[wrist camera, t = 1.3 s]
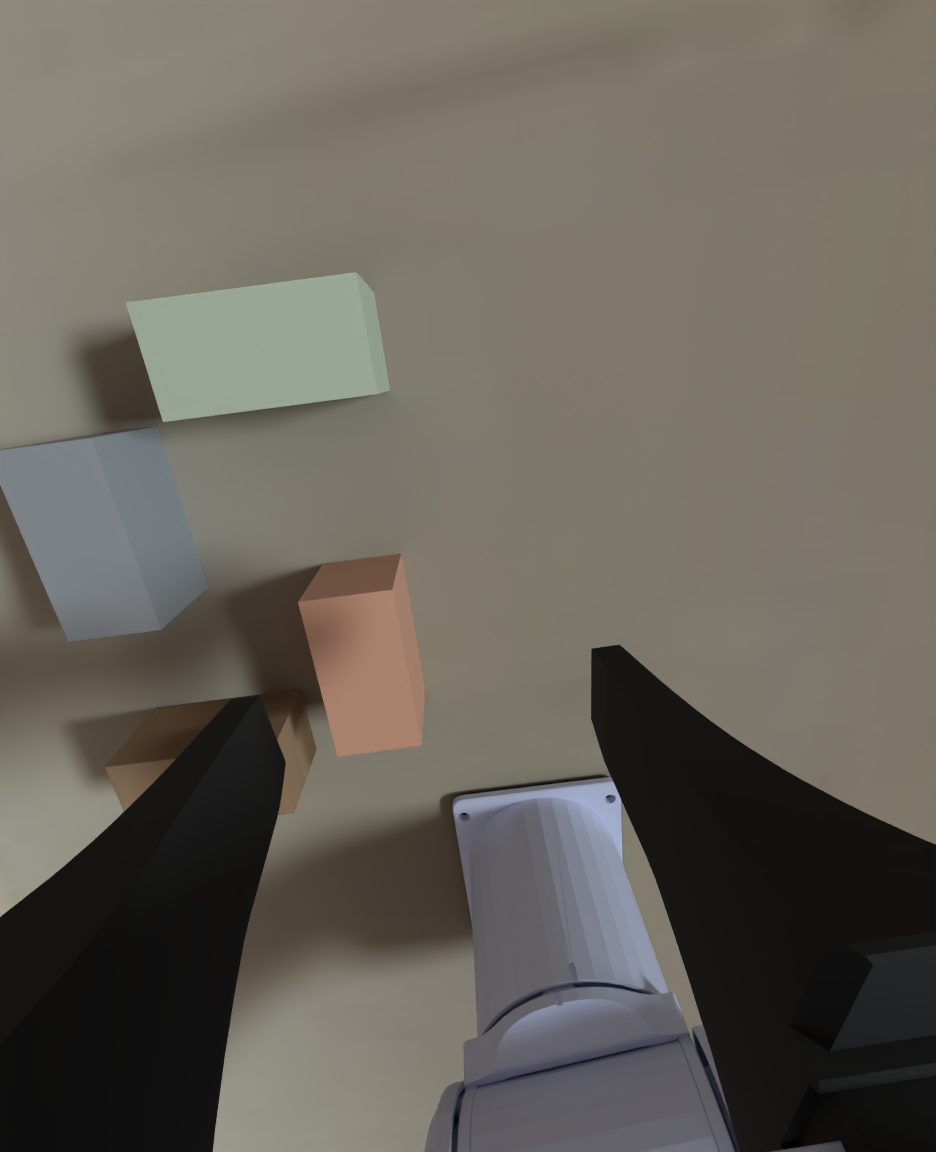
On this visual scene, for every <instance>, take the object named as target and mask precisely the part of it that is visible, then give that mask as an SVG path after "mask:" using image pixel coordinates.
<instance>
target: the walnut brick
mask: <svg viewBox="0 0 936 1152" xmlns="http://www.w3.org/2000/svg"><path fill="white" fill-rule="evenodd" d="M254 696H258V695H254ZM246 697H251V696H246ZM238 698H244V697H238ZM260 698H261V700H262V703H263V705H264V708H265V710H266V713H267V715H268V718H269V720H270V723H271V726H272V728H273V731H274V733H275V736H276V738H277V741H278V743H279V746H280V748H281V751H282V753H283V756H284V758H285V761H286V766H285V774H284V782H283V789H282V796H281V802H280V808H279V812H278V815H281V814H289V813H294V812H295V809H296V806H297V803H298V800H299V797H300V795H301V792H302V789H303V786H304V783H305V780H306V777H307V775H308V772H309V769H310V766H311V763H312V760H313V757H314V755H315V752H316V746H315V742H314V738H313V734H312V731H311V727H310V723H309V720H308V716H307V712H306V708H305V705H304V701H303V697H302V693H301V690H293V691H285V692H278V693H270V694H262V695H260ZM231 699H237V698H230V699H222V700H214V701H206V702H198V703H190V704H182V705H174V706H166V707H158V708H156V709H155V710H154V711H153V713H152V714H151V715H150V716H149V717H148V718H147V719H146V721H145V722H144V723H143V724H142V725H141V726H140V727H139V729H138V730H137V731H136V732H135V733H134V734H133V735H132V737H131V738H130V739H129V740H128V741H127V742H126V743H125V745H124V746H123V747H122V748H121V749H120V750H119V751H118V753H117V754H116V755H115V756H114V757H113V758H112V759H111V761H110V762H109V763H108V764H107V765H106V766H105V769H106V772H107V774H108V776H109V779H110V781H111V783H112V785H113V788H114V790H115V792H116V794H117V797H118V799H119V801H120V803H121V806H122V808H123V810H124V811H125V810H126V809H127V808H128V807H129V806H130V805H131V804H132V803H133V802H134V801H135V800H136V799H137V798H138V797H139V796H140V795H141V794H142V793H143V792H144V791H145V790H146V789H147V788H148V787H149V786H150V785H152V784H153V783H154V782H155V781H156V780H157V779H158V777H159V776H160V775H161V774H162V773H163V772H164V771H165V770H166V769H167V768H168V767H169V766H170V765H171V764H172V763H173V761H174V760H175V759H176V758H177V757H178V756H179V755H180V754H181V753H182V752H183V751H184V750H185V749H186V748H187V746H188V745H189V744H190V743H191V742H192V741H193V740H194V739H195V738H196V737H197V735H198V734H199V733H200V732H201V731H202V730H203V729H204V728H205V727H206V726H207V724H208V723H209V722H210V721H211V720H212V719H213V718H214V717H215V716H216V715H217V714H218V713H219V711H220V710H221V709H222V708H223V707H224V706H225V705H226V704H227V703H228V702H229V701H230V700H231Z"/></svg>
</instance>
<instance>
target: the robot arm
mask: <svg viewBox="0 0 936 1152" xmlns="http://www.w3.org/2000/svg"><path fill="white" fill-rule="evenodd" d="M591 719H592V723H593V726H594V729H595V733H596V736H597V739H598V743H599V746H600V749H601V752H602V755H603V758H604V761H605V764H606V766H607V768H608V771H609V773H610V775H611V777H605V778H597V779H589V780H581V781H573V782H565V783H556V784H548V785H540V786H532V787H524V788H516V789H508V790H500V791H492V792H483V793H475V794H467V795H461V796H457V797H456V798H455V799H454V800H453V815H454V821H455V827H456V833H457V839H458V845H459V851H460V857H461V863H462V868H463V874H464V880H465V886H466V892H467V898H468V904H469V910H470V916H471V922H472V928H473V947H474V968H475V990H476V1011H477V1033H478V1037H477V1038H474V1039H471V1040H468V1041H465V1042H464V1044H463V1048H464V1081H460V1082H456V1083H453V1084H451V1085H449V1086H448V1087H447V1088H446V1089H445V1091H444V1092H443V1094H442V1096H441V1099H440V1102H439V1104H438V1108H437V1110H436V1112H435V1114H434V1116H433V1118H432V1121H431V1124H430V1127H429V1131H428V1135H427V1140H426V1146H425V1152H936V845H935V844H933V843H930V842H928V841H925V840H923V839H921V838H919V837H916V836H914V835H912V834H910V833H907V832H905V831H903V830H901V829H899V828H897V827H894V826H892V825H890V824H888V823H886V822H884V821H881V820H879V819H877V818H875V817H873V816H871V815H868V814H866V813H864V812H862V811H860V810H858V809H856V808H854V807H852V806H850V805H848V804H846V803H844V802H842V801H840V800H838V799H837V798H835V797H833V796H831V795H829V794H827V793H825V792H823V791H822V790H820V789H818V788H816V787H814V786H812V785H810V784H809V783H807V782H805V781H803V780H801V779H799V778H798V777H796V776H794V775H793V774H791V773H789V772H787V771H786V770H784V769H782V768H781V767H779V766H777V765H776V764H774V763H772V762H771V761H769V760H768V759H766V758H764V757H763V756H761V755H760V754H758V753H756V752H755V751H753V750H752V749H750V748H748V747H747V746H745V745H744V744H742V743H741V742H739V741H738V740H736V739H735V738H734V737H732V736H731V735H729V734H728V733H727V732H725V731H724V730H722V729H721V728H720V727H718V726H717V725H715V724H714V723H713V722H711V721H710V720H709V719H707V718H706V717H705V716H703V715H702V714H701V713H700V712H698V711H697V710H696V709H694V708H693V707H692V706H691V705H689V704H688V703H687V702H686V701H684V700H683V699H682V698H681V697H680V696H678V695H677V694H676V693H675V692H673V691H672V690H671V689H670V688H669V687H667V686H666V685H665V684H664V683H663V682H661V681H660V680H659V679H658V678H657V677H656V676H655V675H653V674H652V673H651V672H650V671H649V670H648V669H647V668H645V667H644V666H643V665H642V664H641V663H640V662H639V661H638V660H636V659H635V658H634V657H633V656H632V655H631V654H630V653H629V652H627V651H626V650H625V649H624V648H623V647H621V646H620V645H614V646H607V647H600V648H593V649H592V658H591ZM285 766H286V761H285V758H284V756H283V753H282V751H281V748H280V746H279V743H278V741H277V738H276V736H275V733H274V731H273V728H272V726H271V723H270V720H269V718H268V715H267V713H266V710H265V708H264V705H263V703H262V700H261V698H260V695H258V696H251V697H244V698H237V699H231V700H230V701H229V702H228V703H227V704H226V705H225V706H224V707H223V708H222V709H221V710H220V711H219V713H218V714H217V715H216V716H215V717H214V718H213V719H212V720H211V721H210V722H209V723H208V724H207V726H206V727H205V728H204V729H203V730H202V731H201V732H200V733H199V734H198V735H197V737H196V738H195V739H194V740H193V741H192V742H191V743H190V744H189V745H188V746H187V748H186V749H185V750H184V751H183V752H182V753H181V754H180V755H179V756H178V757H177V758H176V759H175V760H174V761H173V763H172V764H171V765H170V766H169V767H168V768H167V769H166V770H165V771H164V772H163V773H162V774H161V775H160V776H159V777H158V779H157V780H156V781H155V782H154V783H153V784H152V785H150V786H149V787H148V788H147V789H146V790H145V791H144V792H143V793H142V794H141V795H140V796H139V797H138V798H137V799H136V800H135V801H134V802H133V803H132V804H131V805H130V806H129V807H128V808H127V809H126V810H125V811H124V812H123V813H122V814H121V815H120V816H119V817H118V818H117V819H116V820H115V821H114V822H113V823H112V824H111V825H110V826H109V827H108V828H107V829H106V830H105V831H104V832H102V833H101V834H100V835H99V836H98V837H97V838H96V839H95V840H94V841H93V842H91V843H90V844H89V845H88V846H87V847H86V848H85V849H83V850H82V851H81V852H80V853H79V854H78V855H76V856H75V857H74V858H73V859H72V860H71V861H70V862H68V863H67V864H66V865H65V866H64V867H63V868H61V869H60V870H59V871H58V872H57V873H55V874H54V875H53V876H52V877H51V878H49V879H48V880H47V881H46V882H44V883H43V884H42V885H40V886H39V887H38V888H37V889H35V890H34V891H33V892H32V893H30V894H29V895H28V896H26V897H25V898H24V899H23V900H21V901H20V902H19V903H17V904H16V905H15V906H14V907H12V908H11V909H10V910H9V911H7V912H6V913H5V914H3V915H2V916H1V917H0V1152H213V1143H214V1134H215V1125H216V1118H217V1110H218V1103H219V1095H220V1087H221V1080H222V1072H223V1065H224V1057H225V1051H226V1044H227V1038H228V1032H229V1025H230V1019H231V1013H232V1006H233V1000H234V994H235V988H236V983H237V977H238V971H239V966H240V960H241V955H242V949H243V944H244V939H245V935H246V930H247V926H248V922H249V918H250V914H251V910H252V907H253V903H254V900H255V896H256V892H257V889H258V885H259V882H260V878H261V874H262V871H263V867H264V864H265V860H266V857H267V853H268V849H269V846H270V842H271V838H272V835H273V831H274V827H275V824H276V820H277V816H278V812H279V808H280V802H281V796H282V789H283V782H284V774H285ZM608 795H612V796H611V797H606V796H608ZM621 800H622V803H623V805H624V807H625V809H626V812H627V814H628V816H629V818H630V820H631V823H632V825H633V827H634V829H635V832H636V834H637V836H638V838H639V841H640V843H641V845H642V847H643V850H644V852H645V854H646V856H647V859H648V861H649V864H650V866H651V869H652V871H653V874H654V876H655V879H656V882H657V885H658V887H659V890H660V893H661V896H662V899H663V902H664V905H665V908H666V911H667V914H668V917H669V920H670V923H671V926H672V929H673V932H674V935H675V938H676V941H677V944H678V947H679V950H680V953H681V957H682V960H683V963H684V966H685V969H686V972H687V975H688V978H689V981H690V984H691V988H692V991H693V994H694V997H695V1001H696V1004H697V1007H698V1010H699V1014H700V1017H701V1020H702V1023H703V1025H700V1026H695V1027H692V1036H693V1039H694V1043H695V1046H694V1044H693V1042H692V1039H691V1037H690V1033H689V1031H688V1028H687V1025H686V1022H685V1020H684V1017H683V1014H682V1012H681V1009H680V1006H679V1003H678V1001H677V998H676V995H675V994H674V993H672V992H668V989H667V987H666V984H665V981H664V978H663V975H662V973H661V970H660V967H659V964H658V962H657V959H656V956H655V953H654V950H653V948H652V945H651V942H650V939H649V936H648V934H647V931H646V928H645V925H644V923H643V920H642V917H641V914H640V911H639V909H638V906H637V903H636V900H635V897H634V895H633V892H632V889H631V886H630V884H629V881H628V878H627V875H626V872H625V870H624V867H623V864H622V833H621ZM461 813H468V814H466V815H461ZM695 1047H696V1048H695Z"/></svg>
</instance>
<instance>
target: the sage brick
mask: <svg viewBox="0 0 936 1152" xmlns="http://www.w3.org/2000/svg"><path fill="white" fill-rule="evenodd" d="M126 305H127V308H128V311H129V314H130V317H131V321H132V324H133V327H134V330H135V334H136V337H137V340H138V343H139V346H140V350H141V353H142V356H143V359H144V363H145V366H146V369H147V372H148V375H149V379H150V382H151V385H152V388H153V391H154V395H155V398H156V401H157V404H158V408H159V411H160V414H161V417H162V420H163V422H168V421H176V420H183V419H191V418H199V417H206V416H214V415H222V414H229V413H237V412H245V411H252V410H260V409H268V408H276V407H283V406H291V405H299V404H306V403H314V402H322V401H329V400H337V399H345V398H353V397H360V396H368V395H376V394H380V393H383V392H386V391H390V388H389V382H388V376H387V370H386V364H385V358H384V352H383V346H382V339H381V333H380V327H379V321H378V315H377V309H376V303H375V297H374V292H373V291H372V290H371V289H370V287H369V286H368V285H367V284H366V283H365V282H364V281H363V280H362V278H361V277H360V276H359V275H358V274H357V273H356V272H355V273H347V274H340V275H332V276H324V277H317V278H309V279H302V280H294V281H286V282H279V283H271V284H264V285H256V286H248V287H241V288H233V289H226V290H218V291H210V292H203V293H195V294H188V295H180V296H172V297H165V298H157V299H150V300H142V301H134V302H127V303H126Z"/></svg>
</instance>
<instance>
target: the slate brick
mask: <svg viewBox="0 0 936 1152" xmlns="http://www.w3.org/2000/svg"><path fill="white" fill-rule="evenodd" d="M0 486H1V488H2V490H3V493H4V495H5V497H6V500H7V502H8V504H9V506H10V509H11V511H12V513H13V516H14V518H15V520H16V523H17V525H18V527H19V530H20V532H21V534H22V537H23V539H24V541H25V543H26V546H27V548H28V550H29V553H30V555H31V557H32V560H33V562H34V564H35V567H36V569H37V571H38V573H39V576H40V578H41V580H42V583H43V585H44V587H45V590H46V592H47V594H48V597H49V599H50V601H51V603H52V606H53V608H54V610H55V613H56V615H57V617H58V620H59V622H60V624H61V627H62V629H63V631H64V634H65V636H66V638H67V640H68V642H74V641H81V640H89V639H97V638H104V637H112V636H119V635H127V634H134V633H142V632H150V631H157V630H162V629H163V628H164V627H165V626H166V625H167V624H168V623H170V622H171V621H172V620H173V619H174V618H175V617H176V616H177V615H179V614H180V613H181V612H182V611H183V610H184V609H185V608H186V607H188V606H189V605H190V604H191V603H192V602H193V601H194V600H195V599H197V598H198V597H199V596H200V595H201V594H202V593H203V592H204V591H206V590H207V589H208V585H207V582H206V579H205V576H204V573H203V570H202V567H201V563H200V560H199V557H198V554H197V551H196V548H195V545H194V542H193V538H192V535H191V532H190V529H189V526H188V523H187V520H186V516H185V513H184V510H183V507H182V504H181V501H180V498H179V495H178V491H177V488H176V485H175V482H174V479H173V476H172V473H171V470H170V466H169V463H168V460H167V457H166V454H165V451H164V448H163V444H162V441H161V438H160V435H159V432H158V429H157V427H150V428H142V429H135V430H128V431H120V432H113V433H105V434H98V435H91V436H83V437H76V438H69V439H63V440H57V441H51V442H45V443H39V444H33V445H27V446H21V447H15V448H8V449H2V450H0Z"/></svg>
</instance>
